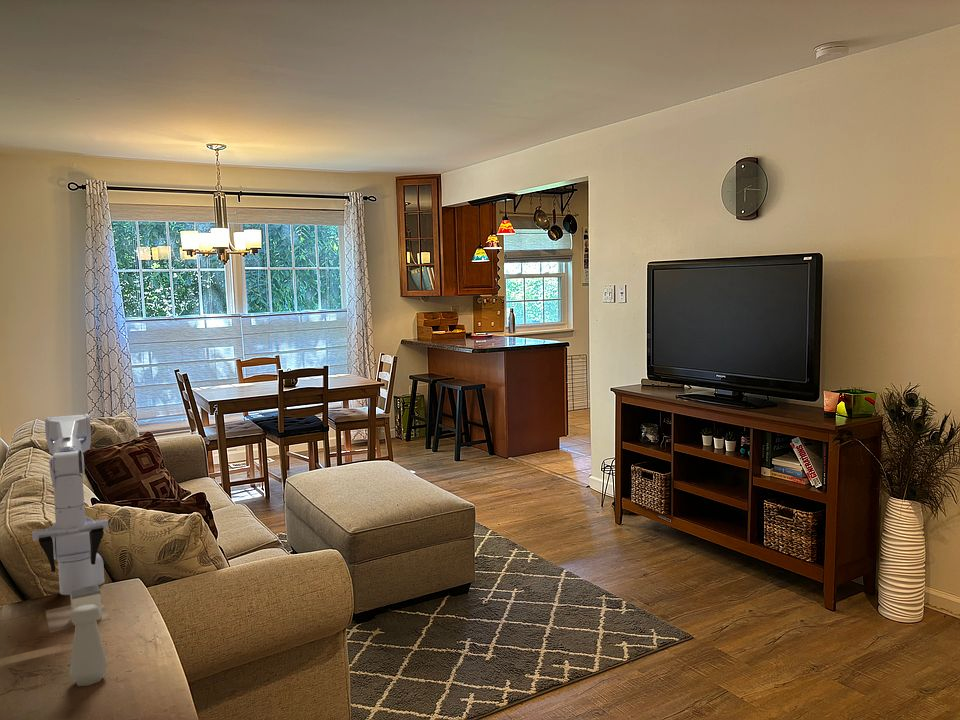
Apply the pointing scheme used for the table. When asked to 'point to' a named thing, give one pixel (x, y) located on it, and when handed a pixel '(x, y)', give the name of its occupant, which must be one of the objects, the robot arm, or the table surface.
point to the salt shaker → (87, 647)
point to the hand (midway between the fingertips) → (73, 567)
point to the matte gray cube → (86, 598)
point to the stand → (66, 618)
